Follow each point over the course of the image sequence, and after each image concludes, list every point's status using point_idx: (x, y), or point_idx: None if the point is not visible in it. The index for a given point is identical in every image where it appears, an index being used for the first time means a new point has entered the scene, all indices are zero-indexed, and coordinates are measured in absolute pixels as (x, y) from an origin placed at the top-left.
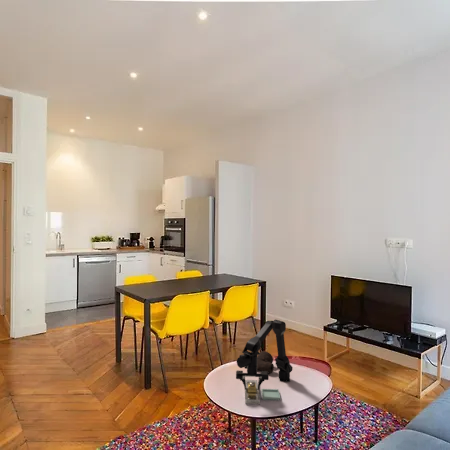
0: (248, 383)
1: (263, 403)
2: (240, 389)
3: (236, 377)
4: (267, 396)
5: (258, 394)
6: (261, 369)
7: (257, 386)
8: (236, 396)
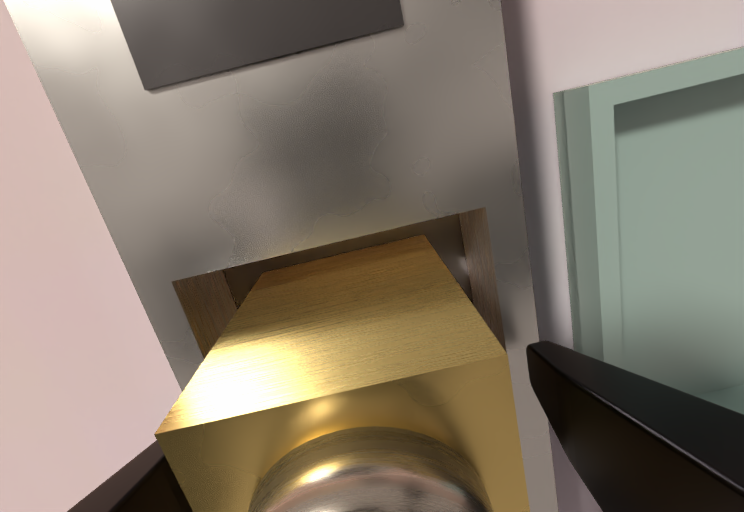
0: (189, 446)
1: (590, 504)
2: (39, 147)
3: None
4: (687, 323)
5: (540, 477)
6: None
7: (488, 65)
8: (99, 445)
